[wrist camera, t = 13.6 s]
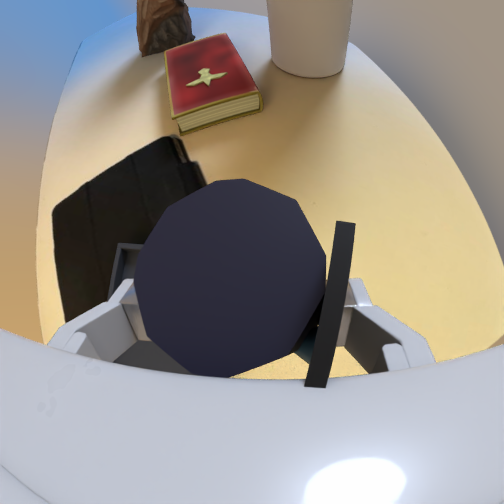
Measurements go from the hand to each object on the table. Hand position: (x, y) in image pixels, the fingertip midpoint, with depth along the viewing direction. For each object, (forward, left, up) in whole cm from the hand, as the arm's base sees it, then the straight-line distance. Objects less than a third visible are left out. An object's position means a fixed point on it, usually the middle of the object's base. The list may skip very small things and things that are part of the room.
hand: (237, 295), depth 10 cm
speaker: (-1, -1, -6) cm, 6 cm away
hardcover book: (+34, +12, -18) cm, 40 cm away
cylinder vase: (+41, -4, -18) cm, 45 cm away
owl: (+53, +26, -18) cm, 62 cm away
